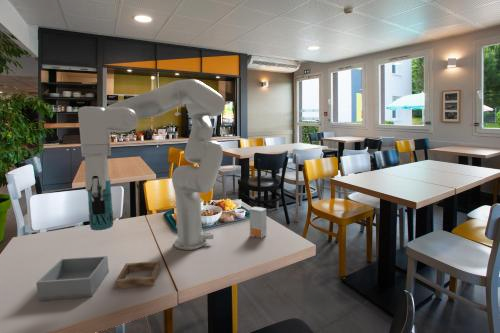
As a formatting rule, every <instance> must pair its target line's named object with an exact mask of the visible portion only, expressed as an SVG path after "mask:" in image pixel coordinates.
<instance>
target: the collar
mask: <svg viewBox="0 0 500 333" xmlns="http://www.w3.org/2000/svg"><path fill="white" fill-rule="evenodd" d="M160 270H161V261H160V260H157V261H144V262H143V261H142V262H127V263H125V264H124V266H123V268H122V269H121V271H120V273H119V274H118V276H117V278H116V279H115V281H114V282H115V284H114V285H115V289H116V290H118V289H128V288H129V289H130V288H142V287H154V286H155V284H156V281H157V279H158V276H159V273H160ZM138 271H141V272H142V271H152V273H151V275H150V276H146V277H145V276H144V277H131V278H126V277H127V276H128V275H129V273H130V272H138Z"/></svg>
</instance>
